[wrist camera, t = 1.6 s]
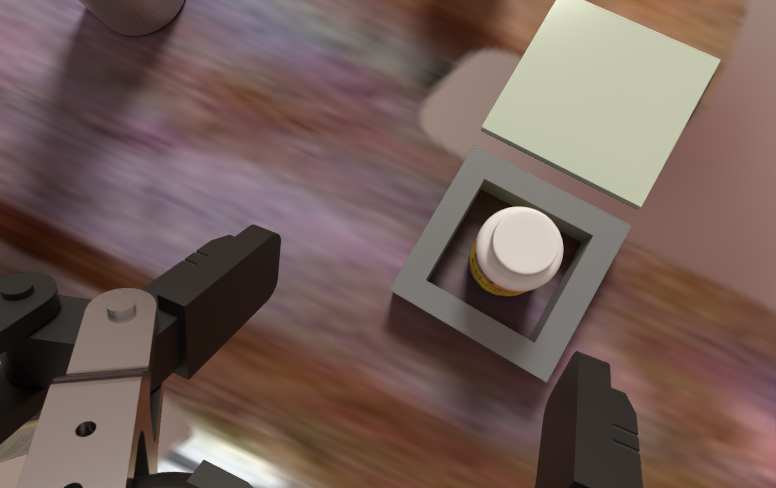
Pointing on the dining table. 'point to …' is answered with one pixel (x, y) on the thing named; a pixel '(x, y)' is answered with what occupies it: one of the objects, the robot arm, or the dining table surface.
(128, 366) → the robot arm
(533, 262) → the supplement bottle
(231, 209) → the dining table surface
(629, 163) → the coaster
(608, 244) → the post collar
